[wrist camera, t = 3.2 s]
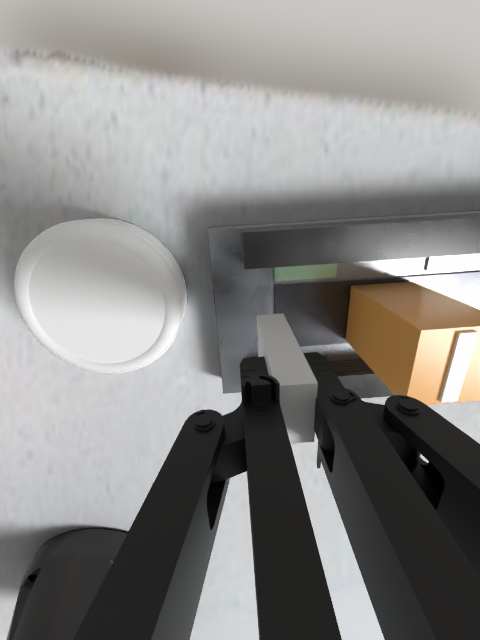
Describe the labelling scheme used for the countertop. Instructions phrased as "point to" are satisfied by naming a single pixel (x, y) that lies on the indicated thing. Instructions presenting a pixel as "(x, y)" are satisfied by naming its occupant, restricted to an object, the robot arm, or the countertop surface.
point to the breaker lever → (417, 341)
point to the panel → (332, 280)
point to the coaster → (100, 294)
